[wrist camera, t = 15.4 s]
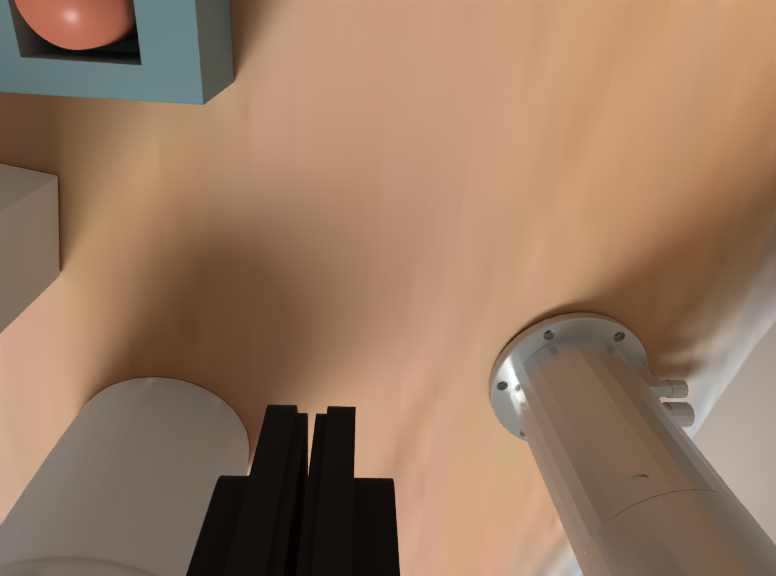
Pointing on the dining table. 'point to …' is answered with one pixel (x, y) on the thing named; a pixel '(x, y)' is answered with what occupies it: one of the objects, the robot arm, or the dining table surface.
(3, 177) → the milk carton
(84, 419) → the utensil holder
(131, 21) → the button
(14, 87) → the cabinet
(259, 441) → the robot arm
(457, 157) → the dining table surface
